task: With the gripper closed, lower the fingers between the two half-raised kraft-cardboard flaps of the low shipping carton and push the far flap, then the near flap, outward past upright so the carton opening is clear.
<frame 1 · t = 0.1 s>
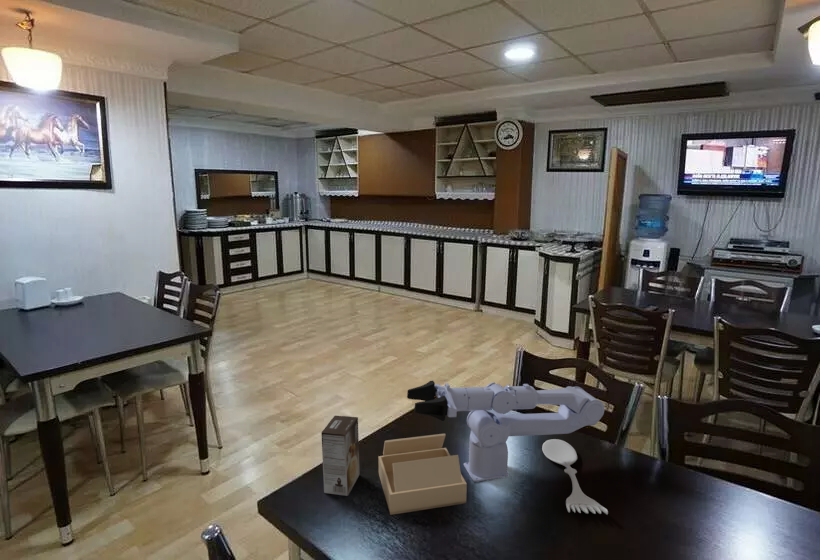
hand: (411, 400, 113), 22 cm above the table, tool horizontal, fingers open, 7 cm apart
far flap: (414, 444, 119), point 8 cm above the table, hinge at 60.0°
coffee box: (342, 484, 116), on the table
spoon: (569, 481, 118), on the table
near flap: (427, 472, 107), point 8 cm above the table, hinge at 60.0°
carton: (420, 487, 115), on the table
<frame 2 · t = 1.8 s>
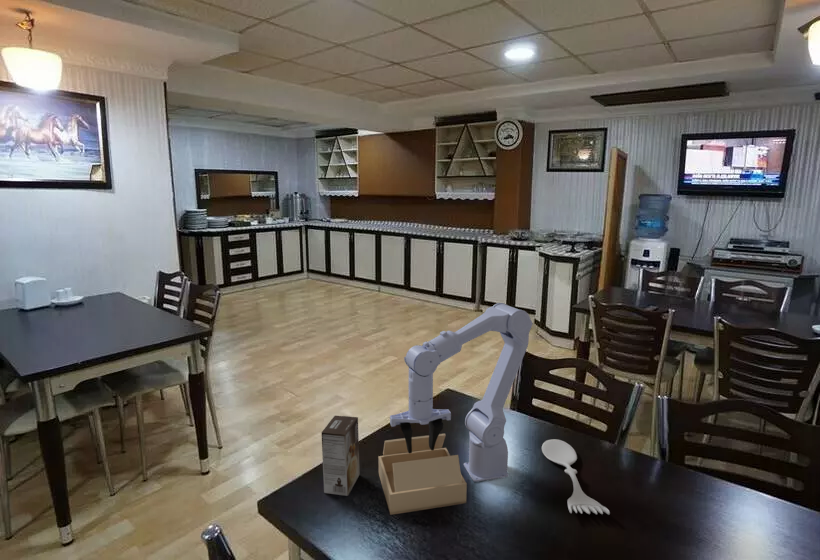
hand: (420, 449, 113), 10 cm above the table, tool pointing down, fingers open, 5 cm apart
nothing on the table moved.
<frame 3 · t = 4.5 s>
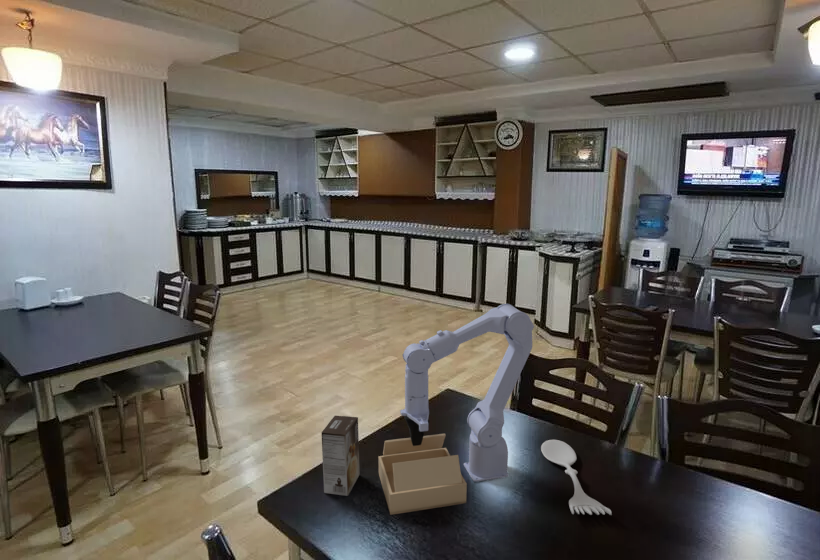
hand: (416, 444, 117), 9 cm above the table, tool pointing down, fingers closed, pressing on far flap
far flap: (414, 444, 119), point 8 cm above the table, hinge at 60.0°, touching gripper
everything else where it was.
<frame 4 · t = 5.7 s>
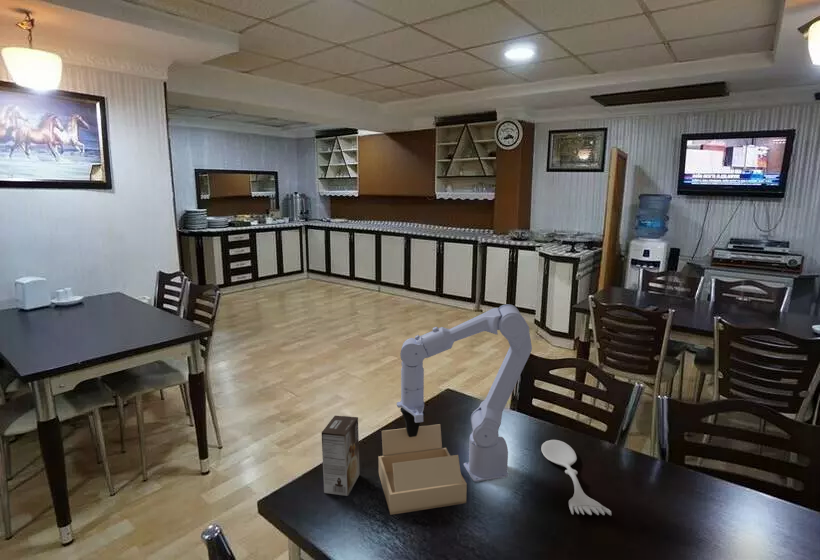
hand: (412, 435, 121), 9 cm above the table, tool pointing down, fingers closed
far flap: (412, 439, 122), point 8 cm above the table, hinge at 105.6°, touching gripper
everything else where it was.
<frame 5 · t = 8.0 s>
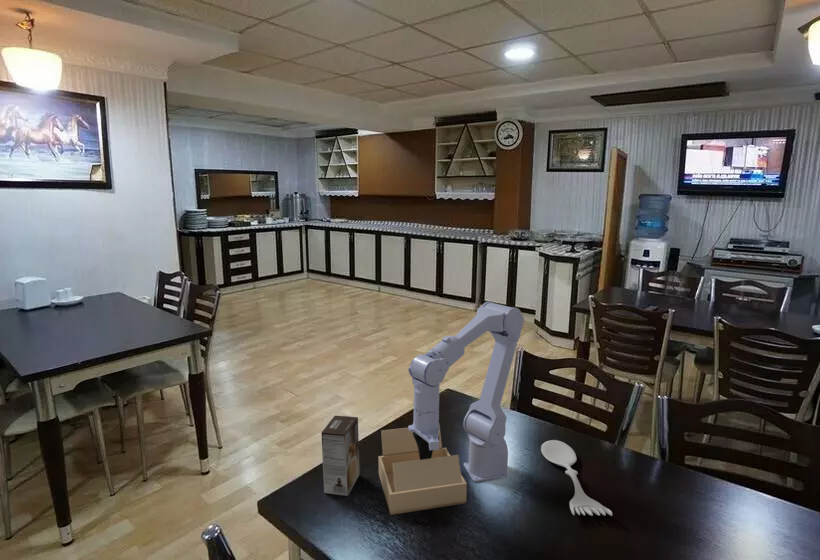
hand: (425, 462, 108), 10 cm above the table, tool pointing down, fingers closed, pressing on near flap
far flap: (411, 439, 122), point 8 cm above the table, hinge at 112.7°
near flap: (427, 473, 107), point 8 cm above the table, hinge at 61.8°, touching gripper
everything else where it was.
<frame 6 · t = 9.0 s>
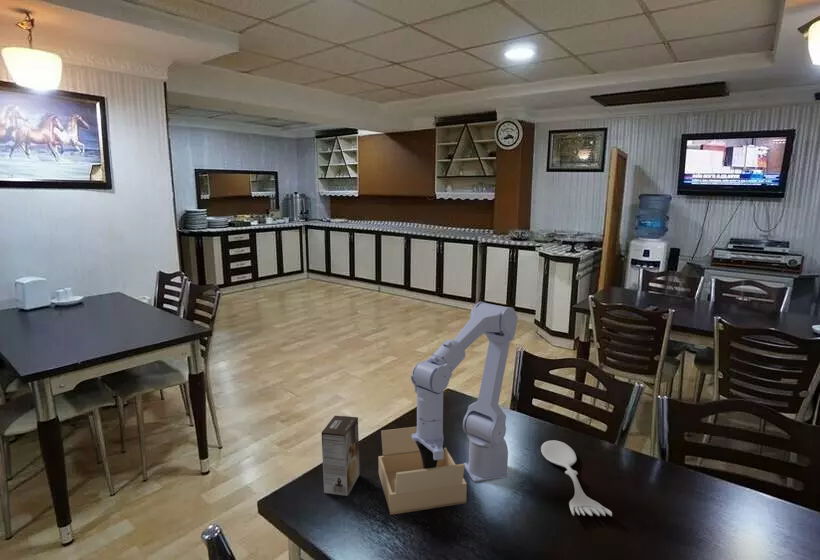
hand: (429, 472, 105), 9 cm above the table, tool pointing down, fingers closed
near flap: (430, 478, 105), point 8 cm above the table, hinge at 105.9°, touching gripper
everything else where it was.
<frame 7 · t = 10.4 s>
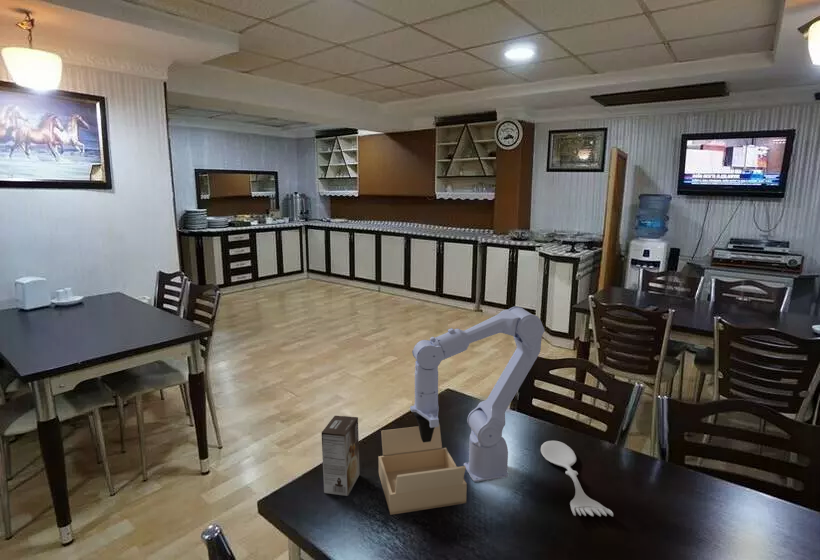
hand: (426, 440, 117), 10 cm above the table, tool pointing down, fingers closed
near flap: (430, 479, 105), point 8 cm above the table, hinge at 111.9°
everything else where it was.
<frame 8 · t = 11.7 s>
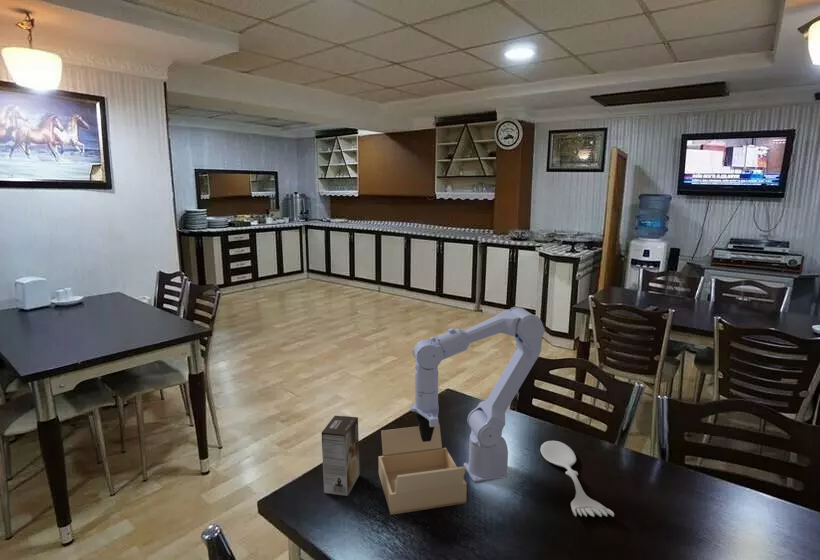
hand: (426, 440, 117), 10 cm above the table, tool pointing down, fingers closed
near flap: (430, 479, 105), point 8 cm above the table, hinge at 112.6°
everything else where it was.
at the end: far flap at +113° (first picture: +60°); near flap at +113° (first picture: +60°); coffee box moved 0.2 cm from its start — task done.
